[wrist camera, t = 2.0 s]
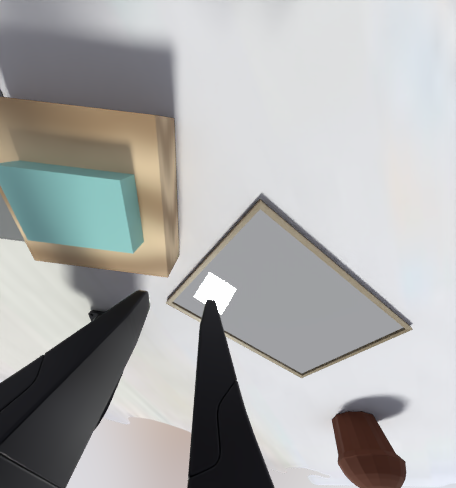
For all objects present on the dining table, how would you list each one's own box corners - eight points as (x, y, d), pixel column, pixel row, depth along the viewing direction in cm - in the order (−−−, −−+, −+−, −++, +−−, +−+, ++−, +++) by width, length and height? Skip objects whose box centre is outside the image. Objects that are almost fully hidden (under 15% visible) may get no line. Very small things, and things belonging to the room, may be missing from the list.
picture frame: (168, 298, 28) (300, 371, 35) (165, 303, 27) (301, 378, 34) (259, 197, 19) (407, 322, 27) (260, 200, 19) (412, 329, 26)
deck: (179, 255, 23) (167, 277, 20) (65, 241, 23) (34, 260, 20) (174, 118, 16) (155, 115, 13) (10, 98, 16) (-53, 90, 13)
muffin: (333, 431, 47) (353, 498, 38) (318, 413, 42) (337, 485, 34) (388, 425, 43) (424, 499, 34) (377, 405, 38) (416, 483, 30)
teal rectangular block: (143, 241, 18) (133, 253, 16) (48, 229, 18) (27, 240, 16) (134, 174, 15) (119, 180, 13) (19, 160, 15) (-11, 164, 13)
